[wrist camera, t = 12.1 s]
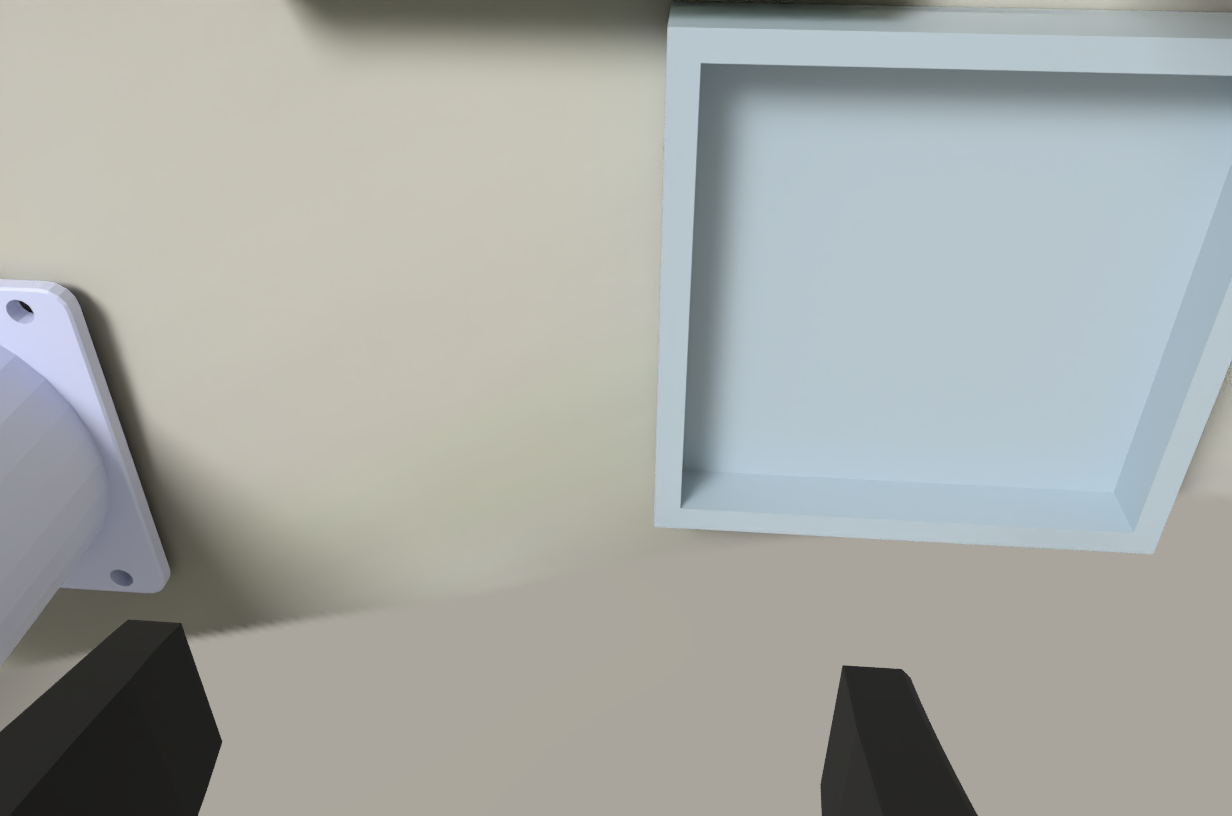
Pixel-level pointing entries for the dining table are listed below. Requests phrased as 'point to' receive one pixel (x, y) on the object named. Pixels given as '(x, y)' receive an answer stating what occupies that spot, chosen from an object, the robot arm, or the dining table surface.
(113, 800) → the robot arm
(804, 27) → the blue-grey tray
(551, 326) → the dining table surface
